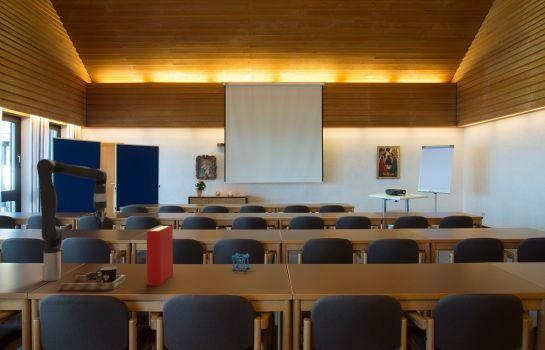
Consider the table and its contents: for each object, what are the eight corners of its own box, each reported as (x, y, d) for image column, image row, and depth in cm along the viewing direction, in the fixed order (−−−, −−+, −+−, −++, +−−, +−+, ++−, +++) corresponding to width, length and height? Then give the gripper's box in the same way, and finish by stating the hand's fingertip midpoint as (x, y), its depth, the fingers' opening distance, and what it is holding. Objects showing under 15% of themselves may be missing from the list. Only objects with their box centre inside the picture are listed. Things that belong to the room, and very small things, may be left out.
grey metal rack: (60, 289, 233) (60, 283, 233) (82, 277, 260) (82, 272, 260) (113, 289, 233) (113, 283, 233) (129, 277, 260) (129, 271, 260)
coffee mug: (120, 284, 243) (119, 267, 243) (108, 287, 236) (107, 270, 236) (107, 282, 249) (106, 265, 249) (94, 285, 241) (94, 268, 241)
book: (160, 273, 268) (160, 224, 268) (172, 273, 268) (172, 224, 267) (146, 285, 241) (145, 230, 240) (159, 285, 240) (159, 230, 240)
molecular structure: (231, 270, 274) (231, 255, 274) (236, 267, 284) (236, 253, 284) (245, 271, 272) (245, 256, 272) (250, 268, 282) (249, 253, 282)
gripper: (98, 200, 268) (99, 226, 268) (89, 201, 254) (89, 229, 255) (110, 199, 268) (110, 226, 268) (101, 201, 254) (101, 229, 254)
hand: (100, 227), depth 261 cm, fingers closed
